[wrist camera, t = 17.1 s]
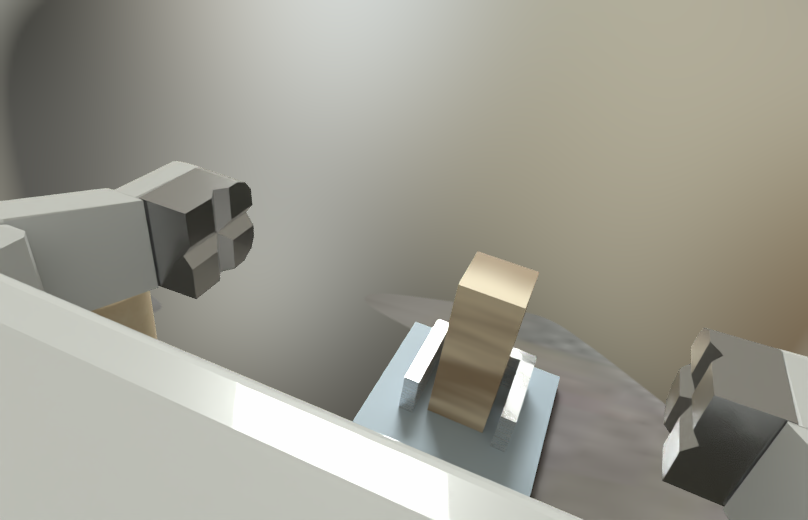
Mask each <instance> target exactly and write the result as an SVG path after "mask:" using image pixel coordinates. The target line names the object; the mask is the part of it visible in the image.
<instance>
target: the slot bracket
mask: <svg viewBox="0 0 808 520" xmlns="http://www.w3.org/2000/svg"><path fill="white" fill-rule="evenodd" d="M448 324H449V323H447V322H445V321H442V320H439V319H438V320H437V322H436V324H435V326H434V327H433V329H432V331H431V332H430V334H429V336H428V338H427V339H426V341H425V343H424V344H423V346H422V348H421V350H420V351H419V353H418V355H417V356H416V358H415V360H414V362H413V363H412V365H411V367H410V369H409V370H408V372H407V374H406V375H405V378H404V383H403V388H402V393H401V397H400V402H399V407H400V408H402V409H404V410H407V411H409V412H411V413H412V412H413V410H414V408H415V406H416V404H417V402H418V400H419V398H420V396H421V395H422V393H423V391H424V389H425V387H426V385H427V383H428V381H429V379H430V377H431V376H432V374H433V372H434V370H435V368H436V366H437V364H438V362H439V361H440V357H441V353H442V349H443V345H444V341H445V337H446V332H447V328H448ZM536 358H537V356H534V355H532V354H529V353H526V352H524V351H521V350H518V349H516V348H513V349H512V352H511V355H510V358H509V360H508V363H507V366H506V369H505V372H504V375H503V378H502V381H501V383H500V385H501V386H504V387H506V388H509V389H510V390H509V393H508V396H507V399H506V402H505V405H504V408H503V411H502V413H501V416H500V419H499V422H498V425H497V428H496V431H495V434H494V437H493V439H492V442H491V445H490V446H491V447H493V448H496V449H498V450H500V451H503V452H505V450H506V448H507V445H508V443H509V440H510V438H511V435H512V433H513V430H514V428H515V425H516V422H517V419H518V416H519V413H520V410H521V406H522V403H523V400H524V397H525V394H526V390H527V387H528V384H529V381H530V378H531V374H532V371H533V368H534V365H535V362H536Z"/></svg>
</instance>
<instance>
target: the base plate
mask: <svg viewBox="0 0 808 520" xmlns="http://www.w3.org/2000/svg"><path fill="white" fill-rule="evenodd" d="M432 329H433V328H431V327H428V326H426V325H423V324H421V323H418V322H415V324H414V325H413V327H412V328H411V330H410V332H409V333H408V335H407V336H406V338H405V340H404V341H403V343H402V344H401V346H400V347H399V349H398V351H397V352H396V354H395V356H394V357H393V359H392V360H391V362H390V363H389V365H388V367H387V368H386V370H385V371H384V373H383V375H382V376H381V378H380V379H379V381H378V382H377V384H376V386H375V387H374V389H373V390H372V392H371V393H370V395H369V397H368V398H367V400H366V401H365V403H364V404H363V406H362V408H361V409H360V411H359V412H358V414H357V415H356V417H355V419H354V420H353V422H354V423H357V424H359V425H361V426H364V427H366V428H368V429H371V430H373V431H376V432H378V433H380V434H383V435H385V436H387V437H390V438H392V439H394V440H397V441H399V442H401V443H404V444H406V445H409V446H411V447H413V448H416V449H418V450H420V451H423V452H425V453H427V454H430V455H432V456H434V457H437V458H439V459H442V460H444V461H446V462H449V463H451V464H453V465H456V466H458V467H460V468H463V469H465V470H467V471H470V472H472V473H475V474H477V475H479V476H482V477H484V478H486V479H489V480H491V481H493V482H496V483H498V484H500V485H503V486H505V487H508V488H510V489H512V490H515V491H517V492H519V493H522V494H524V495H526V496H529V497H530V494H531V490H532V486H533V482H534V478H535V474H536V470H537V466H538V462H539V458H540V454H541V450H542V446H543V442H544V438H545V434H546V430H547V426H548V422H549V418H550V414H551V410H552V406H553V402H554V398H555V394H556V390H557V386H558V382H559V378H560V377H559V376H556V375H553V374H551V373H548V372H546V371H543V370H540V369H538V368H535V367H534V368H533V371H532V374H531V378H530V381H529V384H528V387H527V390H526V394H525V397H524V400H523V403H522V406H521V410H520V413H519V416H518V419H517V422H516V425H515V428H514V430H513V433H512V435H511V438H510V440H509V443H508V445H507V448H506V450H505V452H503V451H500V450H498V449H496V448H493V447H491V446H490V445H491V442H492V439H493V437H494V434H495V431H496V428H497V425H498V422H499V419H500V416H501V413H502V411H503V408H504V405H505V402H506V399H507V396H508V393H509V390H510V389H509V388H506V387H504V386H501V385H500V386H499V389H498V392H497V395H496V398H495V400H494V403H493V406H492V408H491V411H490V414H489V417H488V419H487V422H486V425H485V427H484V430H483V433H481V432H479V431H477V430H474V429H472V428H470V427H467V426H465V425H462V424H460V423H458V422H455V421H453V420H451V419H448V418H446V417H443V416H441V415H439V414H436V413H434V412H432V411H429V410H427V409H428V405H429V401H430V397H431V393H432V389H433V385H434V381H435V377H436V373H437V369H438V365H439V362H438V364H437V366H436V368H435V370H434V372H433V374H432V376H431V377H430V379H429V381H428V383H427V385H426V387H425V389H424V391H423V393H422V395H421V396H420V398H419V400H418V402H417V404H416V406H415V408H414V410H413V412H412V413H411V412H409V411H407V410H404V409H402V408H400V407H399V402H400V397H401V393H402V388H403V383H404V378H405V375H406V374H407V372H408V370H409V369H410V367H411V365H412V363H413V362H414V360H415V358H416V356H417V355H418V353H419V351H420V350H421V348H422V346H423V344H424V343H425V341H426V339H427V338H428V336H429V334H430V332H431V331H432Z"/></svg>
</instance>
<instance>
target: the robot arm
mask: <svg viewBox="0 0 808 520" xmlns="http://www.w3.org/2000/svg"><path fill="white" fill-rule="evenodd" d="M251 206H252V197H251V189H250V188H249V186H248V185H247V184H246V183H245V182H242V181H239V180H236V179H233V178H230V177H227V176H225V175H221V174H219V173H216V172H213V171H210V170H207V169H203V168H201V167H198V166H195V165H192V164H188V163H185V162H179V161H173V162H171V163H169V164H167V165H165V166H163V167H161V168H159V169H157V170H155V171H153V172H151V173H149V174H146V175H144V176H142V177H140V178H138V179H136V180H134V181H132V182H130V183H128V184H126V185H124V186H122V187H120V188H117V189H116V190H112V189H109V188H104V189H96V190H88V191H80V192H72V193H63V194H55V195H48V196H39V197H31V198H23V199H15V200H7V201H0V520H583V519H581V518H578V517H576V516H573V515H571V514H569V513H566V512H564V511H562V510H559V509H557V508H555V507H552V506H550V505H548V504H545V503H543V502H540V501H538V500H536V499H533V498H531V497H529V496H526V495H524V494H522V493H519V492H517V491H515V490H512V489H510V488H508V487H505V486H503V485H500V484H498V483H496V482H493V481H491V480H489V479H486V478H484V477H482V476H479V475H477V474H475V473H472V472H470V471H467V470H465V469H463V468H460V467H458V466H456V465H453V464H451V463H449V462H446V461H444V460H442V459H439V458H437V457H434V456H432V455H430V454H427V453H425V452H423V451H420V450H418V449H416V448H413V447H411V446H409V445H406V444H404V443H401V442H399V441H397V440H394V439H392V438H390V437H387V436H385V435H383V434H380V433H378V432H376V431H373V430H371V429H368V428H366V427H364V426H361V425H359V424H357V423H354V422H352V421H349V420H347V419H345V418H342V417H340V416H337V415H335V414H333V413H330V412H328V411H326V410H323V409H321V408H319V407H316V406H314V405H311V404H309V403H307V402H304V401H302V400H299V399H297V398H295V397H292V396H290V395H288V394H285V393H283V392H281V391H278V390H276V389H273V388H271V387H269V386H266V385H264V384H261V383H259V382H256V381H254V380H252V379H249V378H247V377H245V376H242V375H240V374H238V373H235V372H233V371H230V370H228V369H226V368H223V367H221V366H219V365H216V364H214V363H212V362H209V361H207V360H204V359H202V358H200V357H197V356H195V355H193V354H190V353H188V352H186V351H183V350H181V349H178V348H176V347H174V346H171V345H169V344H166V343H164V342H162V341H159V340H157V339H155V338H152V337H150V336H148V335H145V334H143V333H141V332H138V331H136V330H133V329H131V328H129V327H126V326H124V325H122V324H119V323H117V322H115V321H112V320H110V319H107V318H105V317H103V316H100V315H98V314H96V313H93V312H91V311H93V310H96V309H98V308H101V307H104V306H107V305H110V304H113V303H116V302H119V301H122V300H124V299H127V298H130V297H133V296H136V295H139V294H142V293H145V292H147V291H150V290H153V289H156V288H158V286H161V287H164V288H167V289H169V290H172V291H175V292H178V293H181V294H183V295H186V296H189V297H192V298H195V299H197V298H198V297H199V296H201V295H202V294H203V293H205V292H206V291H207V290H208V289H210V288H211V287H212V286H213V285H215V284H216V283H217V282H219V281H220V273H221V272H222V271H226V270H230V269H234V268H236V267H237V266H238V265H239V264H241V263H242V262H243V261H244V260H245V258H246V256H247V255H248V253H249V251H250V249H251V247H252V243H253V238H254V227H253V223H252V222H251V220H250V218H249V217H248V215H247V213H246V212H247V211H248V210H249V208H250V207H251ZM664 425H665V427H666V428H667V430H668V431H669V433H670V435H669V437H668V438H667V440H666V442H665V444H664V446H663V474H662V481H664V482H667V483H669V484H671V485H674V486H676V487H679V488H681V489H683V490H686V491H688V492H691V493H693V494H695V495H698V496H700V497H703V498H705V499H707V500H710V501H712V502H715V503H717V504H719V505H722V506H724V508H723V510H724V512H725V514H726V515H727V517H728V519H729V520H808V357H806V356H802V355H799V354H795V353H792V352H788V351H784V350H781V349H776V348H773V347H769V346H766V345H762V344H759V343H756V342H752V341H749V340H745V339H742V338H738V337H735V336H731V335H728V334H725V333H721V332H718V331H714V330H711V329H707V328H703V329H702V331H701V332H700V333H699V334H698V336H697V338H696V339H695V341H694V343H693V345H692V347H691V364H689V365H686V366H684V367H682V368H680V369H679V371H678V373H677V375H676V377H675V379H674V381H673V383H672V386H671V389H670V391H669V395H668V398H667V401H666V406H665V412H664Z"/></svg>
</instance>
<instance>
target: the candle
mask: <svg viewBox="0 0 808 520" xmlns="http://www.w3.org/2000/svg"><path fill="white" fill-rule="evenodd" d="M91 312H93V313H96V314H98V315H100V316H103V317H105V318H107V319H110V320H112V321H115V322H117V323H119V324H122V325H124V326H126V327H129V328H131V329H133V330H136V331H138V332H141V333H143V334H145V335H148V336H150V337H152V338H155V339H157V335H156V329H155V322H154V315H153V309H152V302H151V296H150V291H147V292H145V293H142V294H139V295H136V296H133V297H130V298H127V299H124V300H122V301H119V302H116V303H113V304H110V305H107V306H104V307H101V308H98V309H96V310H93V311H91Z"/></svg>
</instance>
